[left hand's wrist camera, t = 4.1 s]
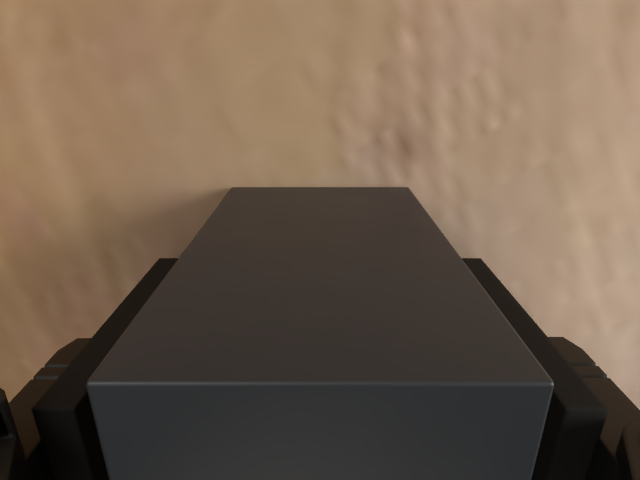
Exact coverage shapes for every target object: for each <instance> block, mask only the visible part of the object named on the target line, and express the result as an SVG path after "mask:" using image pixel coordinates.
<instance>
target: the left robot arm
mask: <svg viewBox="0 0 640 480" xmlns="http://www.w3.org/2000/svg"><path fill="white" fill-rule="evenodd" d="M178 259H179V258H159V260H158V261H157V262H156V263H155V264H154V265H153V267H152V268H151V269H150V270H149V271H148V272H147V274H146V275H145V276H144V277H143V278H142V280H141V281H140V282H139V283H138V284H137V285H136V287H135V288H134V289H133V290H132V291H131V292H130V294H129V295H128V296H127V297H126V298H125V300H124V301H123V302H122V303H121V304H120V305H119V307H118V308H117V309H116V310H115V311H114V312H113V314H112V315H111V316H110V317H109V318H108V319H107V321H106V322H105V323H104V324H103V325H102V327H101V328H100V329H99V330H98V331H97V332H96V334H95V335H94V336H93V337H92V338H77V339H76V340H74V341H73V342H71V343H69V344H68V345H66V346H65V347H63V348H61V349H60V350H58V351H57V352H56V353H55V354H54V356H53V357H52V358H51V359H50V360H49V361H48V362H47V363H46V364H45V367H44V368H41V369H40V371H39V372H38V373H37V374H36V375H35V376H34V379H33V380H30V381H29V382H28V383H27V384H26V386H25V387H24V388H23V389H22V390H21V391H20V392H19V393H18V394H17V395H16V396H15V397H14V398H13V399H12V401H11V402H10V403H8V400H7V397H6V394H5V391H4V390H2V389H1V388H0V480H109V477H108V473H107V469H106V465H105V460H104V456H103V452H102V448H101V444H100V440H99V436H98V432H97V428H96V424H95V420H94V416H93V412H92V407H91V403H90V399H89V395H88V391H87V387H86V385H87V381H88V379H89V378H90V377H91V375H92V374H93V373H94V371H95V370H96V369H97V367H98V366H99V365H100V363H101V362H102V361H103V359H104V358H105V357H106V355H107V354H108V353H109V351H110V350H111V349H112V347H113V346H114V345H115V343H116V342H117V341H118V339H119V338H120V336H121V335H122V334H123V332H124V331H125V330H126V328H127V327H128V326H129V324H130V323H131V322H132V320H133V319H134V318H135V316H136V315H137V314H138V312H139V311H140V310H141V308H142V307H143V306H144V304H145V303H146V302H147V300H148V299H149V298H150V296H151V295H152V294H153V292H154V291H155V290H156V288H157V287H158V286H159V284H160V283H161V282H162V280H163V279H164V278H165V276H166V275H167V274H168V272H169V271H170V270H171V268H172V267H173V266H174V264H175V263H176V262H177V260H178ZM461 259H462V260H463V261H464V263H465V264H466V265H467V267H468V268H469V269H470V271H471V272H472V273H473V275H474V276H475V277H476V279H477V280H478V281H479V283H480V284H481V285H482V287H483V288H484V289H485V291H486V292H487V293H488V295H489V296H490V297H491V299H492V300H493V301H494V303H495V304H496V305H497V307H498V308H499V309H500V311H501V312H502V313H503V315H504V316H505V318H506V319H507V320H508V322H509V323H510V324H511V326H512V327H513V328H514V330H515V331H516V332H517V334H518V335H519V336H520V338H521V339H522V340H523V342H524V343H525V344H526V346H527V347H528V348H529V350H530V351H531V352H532V354H533V355H534V356H535V358H536V359H537V360H538V362H539V363H540V364H541V366H542V367H543V368H544V370H545V371H546V372H547V374H548V375H549V376H550V378H551V379H552V380H553V383H554V388H553V392H552V396H551V400H550V404H549V409H548V413H547V417H546V421H545V425H544V429H543V433H542V437H541V441H540V445H539V449H538V453H537V457H536V461H535V466H534V470H533V474H532V478H531V480H640V410H639V409H638V408H637V407H636V406H635V405H634V404H633V403H632V402H631V401H630V399H629V398H628V397H627V396H626V395H625V394H624V393H623V392H622V391H621V390H620V389H619V388H618V387H617V386H616V385H615V383H614V382H613V381H612V380H611V379H610V378H607V375H606V374H605V373H604V372H603V371H602V370H601V369H600V368H599V366H596V363H595V362H594V361H593V360H592V359H591V358H590V357H589V356H588V355H587V354H586V353H585V352H584V350H583V349H581V348H580V347H578V346H576V345H575V344H573V343H572V342H570V341H568V340H567V339H565V338H564V337H547V336H546V335H545V334H544V332H543V331H542V330H541V329H540V328H539V327H538V325H537V324H536V323H535V322H534V321H533V319H532V318H531V317H530V316H529V315H528V314H527V312H526V311H525V310H524V309H523V308H522V307H521V305H520V304H519V303H518V302H517V301H516V300H515V298H514V297H513V296H512V295H511V294H510V292H509V291H508V290H507V289H506V288H505V287H504V285H503V284H502V283H501V282H500V281H499V280H498V278H497V277H496V276H495V275H494V274H493V272H492V271H491V270H490V269H489V268H488V267H487V265H486V264H485V263H484V262H483V261H482V260H481V258H461Z"/></svg>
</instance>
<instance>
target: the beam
mask: <svg viewBox="0 0 640 480" xmlns="http://www.w3.org/2000/svg"><path fill="white" fill-rule="evenodd" d="M86 387H87V391H88V395H89V399H90V403H91V407H92V412H93V416H94V420H95V424H96V428H97V432H98V436H99V440H100V444H101V448H102V452H103V456H104V460H105V465H106V469H107V473H108V477H109V480H531V478H532V474H533V470H534V466H535V461H536V457H537V453H538V449H539V445H540V441H541V437H542V433H543V429H544V425H545V421H546V417H547V413H548V409H549V404H550V400H551V396H552V392H553V388H554V383H553V380H552V379H551V378H550V376H549V375H548V374H547V372H546V371H545V370H544V368H543V367H542V366H541V364H540V363H539V362H538V360H537V359H536V358H535V356H534V355H533V354H532V352H531V351H530V350H529V348H528V347H527V346H526V344H525V343H524V342H523V340H522V339H521V338H520V336H519V335H518V334H517V332H516V331H515V330H514V328H513V327H512V326H511V324H510V323H509V322H508V320H507V319H506V318H505V316H504V315H503V313H502V312H501V311H500V309H499V308H498V307H497V305H496V304H495V303H494V301H493V300H492V299H491V297H490V296H489V295H488V293H487V292H486V291H485V289H484V288H483V287H482V285H481V284H480V283H479V281H478V280H477V279H476V277H475V276H474V275H473V273H472V272H471V271H470V269H469V268H468V267H467V265H466V264H465V263H464V261H463V260H462V259H461V257H460V256H459V255H458V253H457V252H456V251H455V249H454V248H453V247H452V245H451V244H450V243H449V241H448V240H447V239H446V237H445V236H444V235H443V233H442V232H441V231H440V229H439V228H438V227H437V225H436V224H435V223H434V221H433V220H432V219H431V217H430V216H429V215H428V213H427V212H426V211H425V209H424V208H423V207H422V205H421V204H420V203H419V201H418V200H417V199H416V197H415V196H414V195H413V193H412V192H411V191H410V189H409V188H231V189H230V191H229V192H228V193H227V195H226V196H225V197H224V199H223V200H222V201H221V203H220V204H219V205H218V207H217V208H216V209H215V211H214V212H213V213H212V215H211V216H210V218H209V219H208V220H207V222H206V223H205V224H204V226H203V227H202V228H201V230H200V231H199V232H198V234H197V235H196V236H195V238H194V239H193V240H192V242H191V243H190V244H189V246H188V247H187V248H186V250H185V251H184V252H183V254H182V255H181V256H180V258H179V259H178V260H177V262H176V263H175V264H174V266H173V267H172V268H171V270H170V271H169V272H168V274H167V275H166V276H165V278H164V279H163V280H162V282H161V283H160V284H159V286H158V287H157V288H156V290H155V291H154V292H153V294H152V295H151V296H150V298H149V299H148V300H147V302H146V303H145V304H144V306H143V307H142V308H141V310H140V311H139V312H138V314H137V315H136V316H135V318H134V319H133V320H132V322H131V323H130V324H129V326H128V327H127V328H126V330H125V331H124V332H123V334H122V335H121V336H120V338H119V339H118V341H117V342H116V343H115V345H114V346H113V347H112V349H111V350H110V351H109V353H108V354H107V355H106V357H105V358H104V359H103V361H102V362H101V363H100V365H99V366H98V367H97V369H96V370H95V371H94V373H93V374H92V375H91V377H90V378H89V379H88V381H87V385H86Z"/></svg>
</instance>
